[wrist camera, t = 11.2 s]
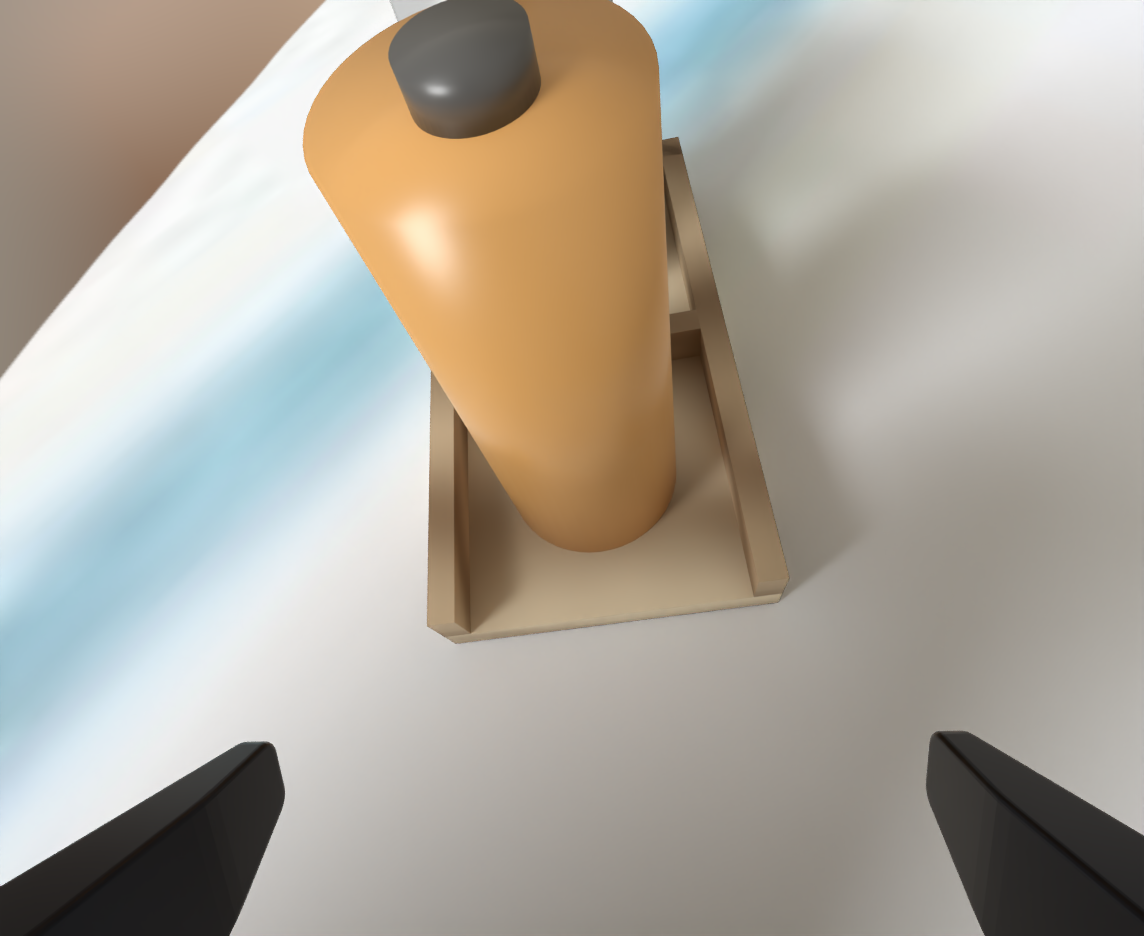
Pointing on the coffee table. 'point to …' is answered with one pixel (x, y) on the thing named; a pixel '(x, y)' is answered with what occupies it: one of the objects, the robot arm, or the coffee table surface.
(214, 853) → the robot arm
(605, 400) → the orange bottle
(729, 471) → the slot rack
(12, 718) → the coffee table surface
